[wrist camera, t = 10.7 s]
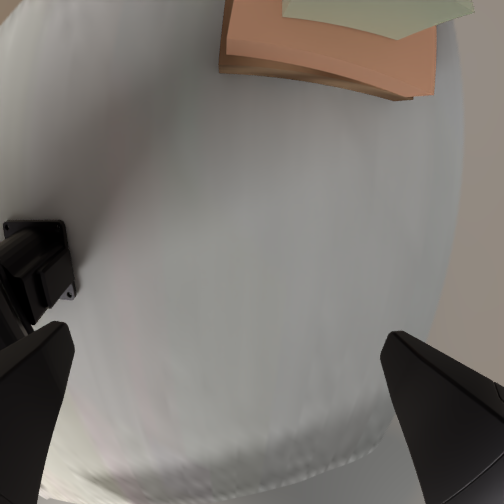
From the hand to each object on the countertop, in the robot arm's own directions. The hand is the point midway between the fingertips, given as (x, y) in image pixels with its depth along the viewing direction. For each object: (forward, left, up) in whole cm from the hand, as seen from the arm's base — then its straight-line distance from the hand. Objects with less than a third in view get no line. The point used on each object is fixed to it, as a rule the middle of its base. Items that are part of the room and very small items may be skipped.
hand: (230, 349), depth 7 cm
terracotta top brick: (+5, +15, -11) cm, 19 cm away
